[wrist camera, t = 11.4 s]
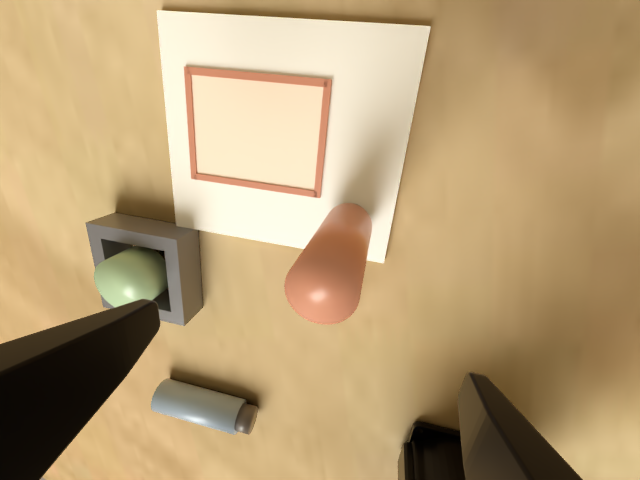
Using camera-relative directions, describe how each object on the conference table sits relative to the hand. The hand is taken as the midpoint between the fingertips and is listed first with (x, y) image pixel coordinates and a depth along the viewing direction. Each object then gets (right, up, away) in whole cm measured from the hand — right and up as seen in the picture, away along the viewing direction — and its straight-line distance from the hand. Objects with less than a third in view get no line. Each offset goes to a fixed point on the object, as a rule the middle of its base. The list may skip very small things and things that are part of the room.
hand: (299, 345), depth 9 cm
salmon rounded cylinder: (+2, +4, +11) cm, 12 cm away
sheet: (-2, +9, +10) cm, 14 cm away
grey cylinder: (-10, -13, +20) cm, 26 cm away
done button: (-12, +1, +14) cm, 19 cm away
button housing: (-12, +1, +16) cm, 20 cm away
